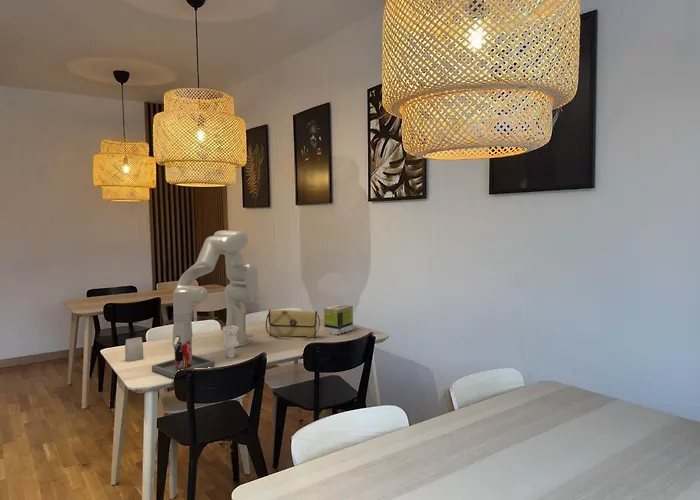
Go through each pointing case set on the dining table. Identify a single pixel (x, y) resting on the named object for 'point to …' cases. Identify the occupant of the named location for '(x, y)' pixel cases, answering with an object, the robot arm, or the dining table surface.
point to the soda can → (185, 356)
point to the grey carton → (134, 349)
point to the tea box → (338, 319)
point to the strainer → (230, 339)
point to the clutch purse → (292, 323)
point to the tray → (170, 369)
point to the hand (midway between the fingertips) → (183, 357)
